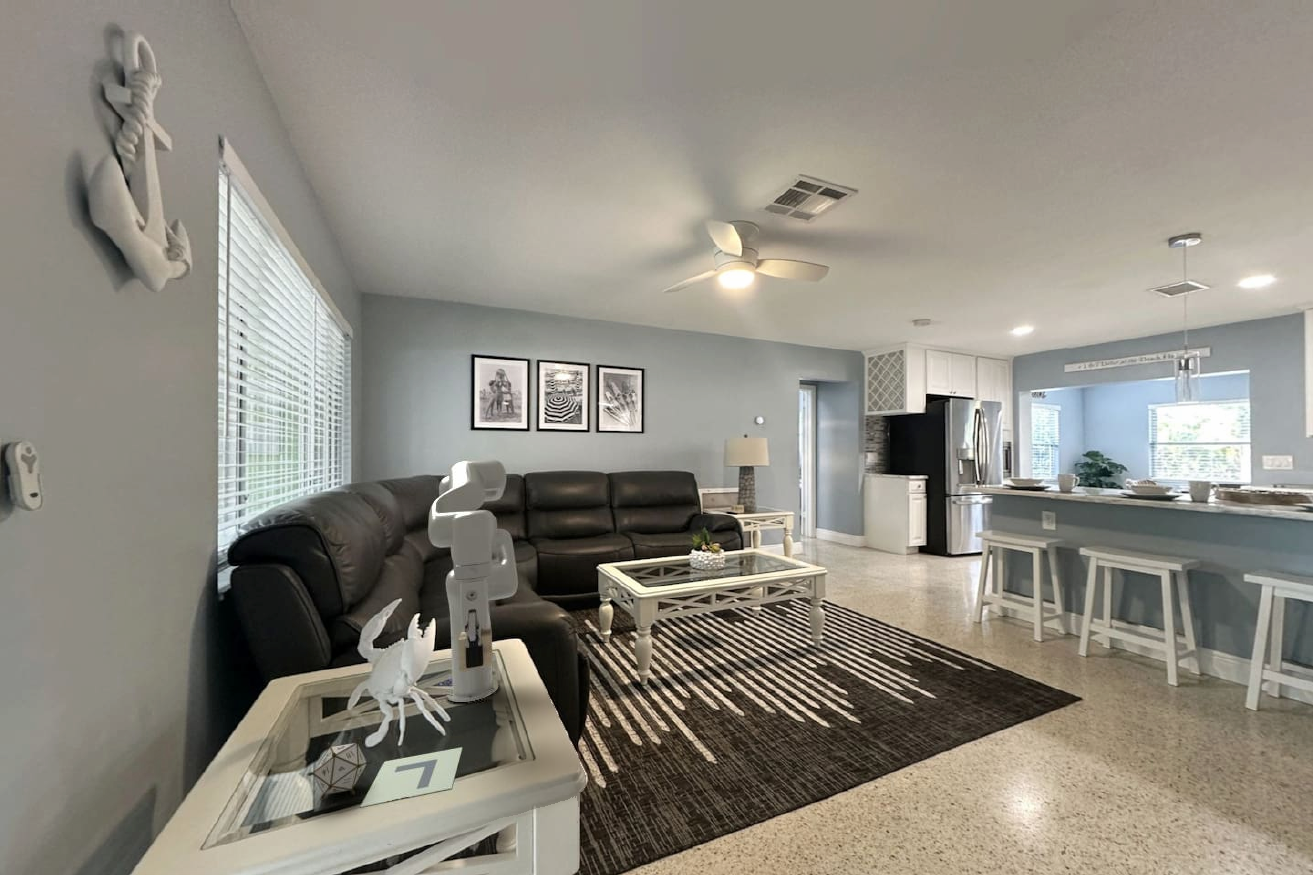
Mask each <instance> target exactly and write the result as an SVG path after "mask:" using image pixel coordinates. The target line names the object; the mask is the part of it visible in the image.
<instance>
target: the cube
mask: <svg viewBox="0 0 1313 875" xmlns="http://www.w3.org/2000/svg"><path fill="white" fill-rule="evenodd" d="M476 634H477V635H478V633H476ZM492 635H493V634H492V627H491V628H489V629H486V630H485V629H482V630H481V645H482V644H483V665H482V666H479V667H473V668H466V633H465V632H461V635H460V637H459V640H458V646H459V671H465V670H471V669H477V668H484V667H490V666H491V664H492V665H493V639H492V638H493V636H492Z"/></svg>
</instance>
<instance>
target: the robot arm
mask: <svg viewBox="0 0 1313 875" xmlns="http://www.w3.org/2000/svg"><path fill="white" fill-rule="evenodd" d="M506 484H507V472H506V469H505V466H504V465H503V463H502V462H500V461H499V460H496V459H487V460H485V459H484V460H482V459H481V460H479V459H478V460H464V461H459V462H457V463H456V464H454V465H453V466H452V467H451V468H450V470H449V473H448V476H447V475H446V476H445V477H443V478H442V479H441V481H440V483H439V485H438V486H439V487H438V491H439V492H438V493H439V495H438V496H439V497H438V498H436V499H435V500H434V501H433V503H432V505H431V507H430V510H429V512H428V527H427V530H428V531H427V532H428V533H427V534H428V539H429V541H430V543H431V544H432V545H433V547H436V548H450V554H451V560H452V562H453V568H452V569H451V571H449V572H448V573H447V575H446V578H445V590H446V595H447V601H448V602H447V603H448V607H449V609H448V610H449V618H450V619H449V620H450V637H451V638H450V641H451V642H450V644H451V646H450V647H451V649H450V650H451V679H452V681H451V682H452V687H453V694H450V695H447V697H448V698H449V699H450V700H452V701H456V702H466V701H468V703H470V702H469V701H474V702H476V701H475V700H478V701H480V700H479V699H481V698H483V697H485V696H486V695H488V694H489V693H492V692H493V691H494V690H495V688H494V687H492V684H493V679H494V678H493V663H492V664H491V666H490V667H484V668H477V669H471V670H465V671H459V646H458V640H459V637H460V635H461V632H465V633H466V668H473V667H479V666H482V665H483V644H482V645H481V630H482V629H485V630H486V629H489V628H491V629H492V623H491V622H492V621H491V617H490V616H491V615H490V601H494V600H495V601H496V600H501V599H503V600H504V599H506V598H510V597H513V596H514V595H515V594H516V593H517V590H518V587H519V586H518V585H519V580H518V579H519V578H518V572H517V563H516V556H515V555H516V554H515V549H514V543H513V542H514V541H513V538H512V536H511V533H510V532H509V531H508V530H506V529H504V528H498V523H497V521H498V520H497V517H496V516H494V514H493V512H492V511H490V510H487V509H482V510H481V509H480V508H481V507H482V506H483V504H484V503H485V502H495V501H496V502H497V501H498V500H500V499H501V498H502V497H503V495H504V491H505V488H506ZM478 509H479V510H478ZM476 633H478V635H477V634H476ZM491 689H492V690H491ZM451 695H453V696H451ZM481 700H482V699H481Z"/></svg>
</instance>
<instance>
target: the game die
mask: <svg viewBox="0 0 1313 875" xmlns="http://www.w3.org/2000/svg"><path fill="white" fill-rule="evenodd" d="M360 742H361V737H358V738H357V739H356V741H355V742H351V743H343V744H338V745H332V744H331V742H327V744H326V746H327V747H328V749H327V750H326V752H325V753H324V755H323V757H322V758H321V759H320V761H319V762H318V765H317V766H316V767H315V769H314V771H311V772H310V771H309V772H308V773H307V774H306V776H308V777H312V776H313V777H314V779H315V782H316V783H317V785H318V787H319V789H320V791H321V793H322V794H321V796H320V797H319V798H320V800H319V801H322V800H323V799H324V797H325V796H326V795H331V794H332V795H333V794H337V793H344V792H348V791H350V793H351V794H352V795H355V789H354V788H355V786H356V784H357V782H358V780H359V778H361V775H362V774H363V772H364V769H365V768H366V766H367V765H371V764H372V763H373V761H372V760H368V761H367V759H366V756H365V755H364V753H363V751H362V749H361V747H360V744H359V743H360Z"/></svg>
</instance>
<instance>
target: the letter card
mask: <svg viewBox="0 0 1313 875" xmlns="http://www.w3.org/2000/svg"><path fill="white" fill-rule="evenodd" d="M462 752H463V747H456V748H451V749H445V750H440V751H436V752H435V751H433V752H430V753H423V754H419V755H414V756H413V755H412V756H408V757H403V758H397V759H392V760H386V761H384V762H383V764H382V765H381V767H380V769H379V771H378V772H377V775H376V777H375V779H374V781H373V782H372V784H371V786H370V788H369V790H368V792H367V794H366V795H365V797H364V798H363V800H362V803H361V804H360V806H359V807H360V808H364V807H368V806H374V805H378V804H384V803H388V802H387V801H389V802H393V801H392V800H393V799H399V800H402V799H401V797H405V796H406V797H409V798H414V797H418V796H422V795H423V796H424V795H428V794H432V793H434V794H435V793H438V792H442V791H447V790H452V789H453V785H454V781H455V777H456V773H457V770H458V765H459V762H460V758H461V754H462ZM413 796H414V797H413Z"/></svg>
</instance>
